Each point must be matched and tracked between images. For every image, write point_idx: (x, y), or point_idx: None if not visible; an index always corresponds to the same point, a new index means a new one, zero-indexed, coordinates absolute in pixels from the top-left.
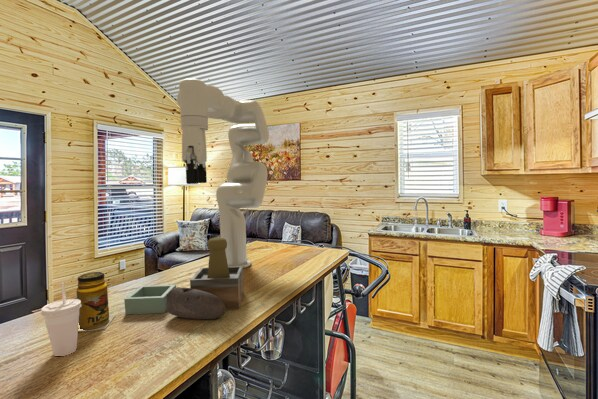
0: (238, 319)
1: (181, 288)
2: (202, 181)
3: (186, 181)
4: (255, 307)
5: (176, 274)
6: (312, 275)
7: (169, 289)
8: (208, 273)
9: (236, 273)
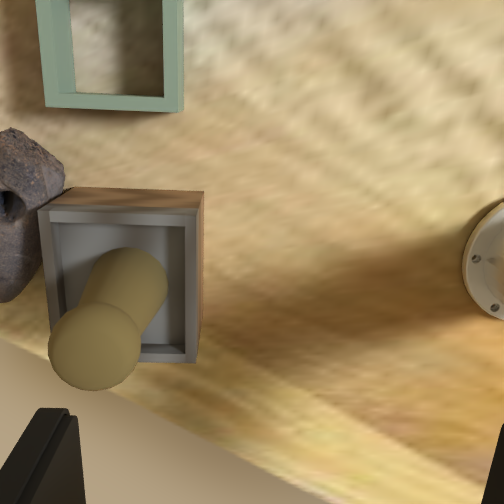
0: (22, 317)
1: (9, 184)
2: (494, 500)
3: (29, 423)
4: None
5: (474, 25)
6: (329, 493)
7: (123, 104)
8: (102, 263)
9: (172, 335)
